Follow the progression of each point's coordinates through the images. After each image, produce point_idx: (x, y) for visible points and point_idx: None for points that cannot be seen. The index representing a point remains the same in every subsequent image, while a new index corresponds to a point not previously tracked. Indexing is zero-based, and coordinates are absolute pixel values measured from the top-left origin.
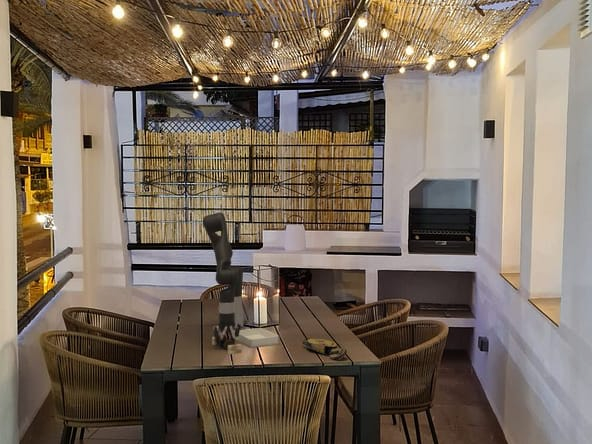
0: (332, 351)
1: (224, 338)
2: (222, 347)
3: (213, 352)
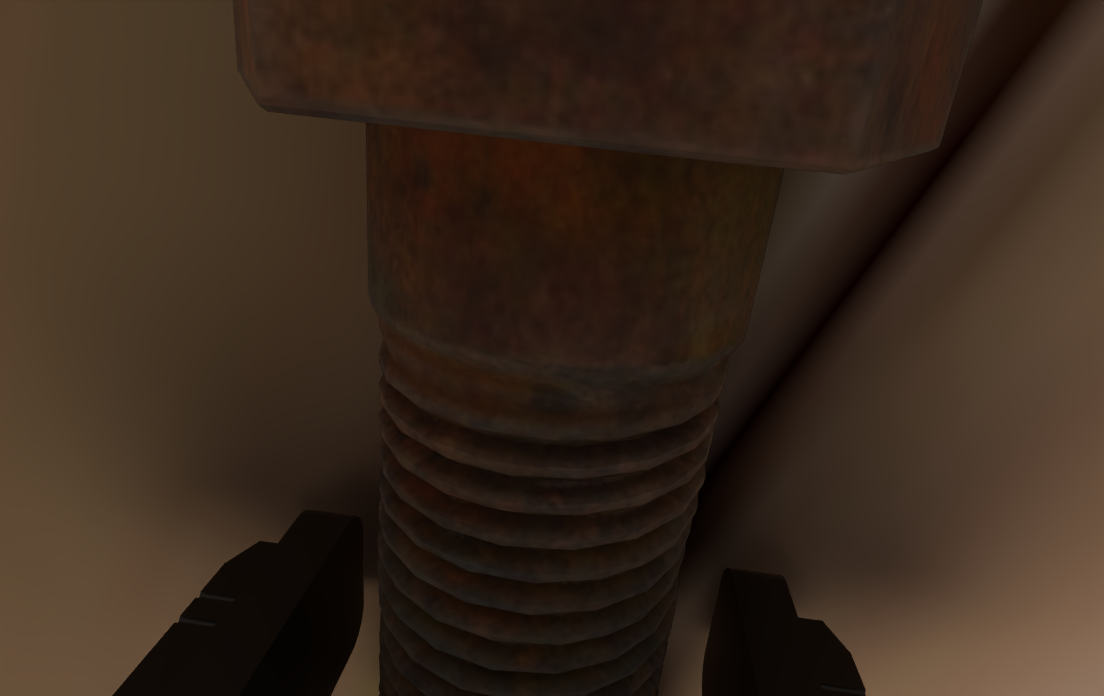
0: None
1: (538, 550)
2: (347, 631)
3: (53, 685)
